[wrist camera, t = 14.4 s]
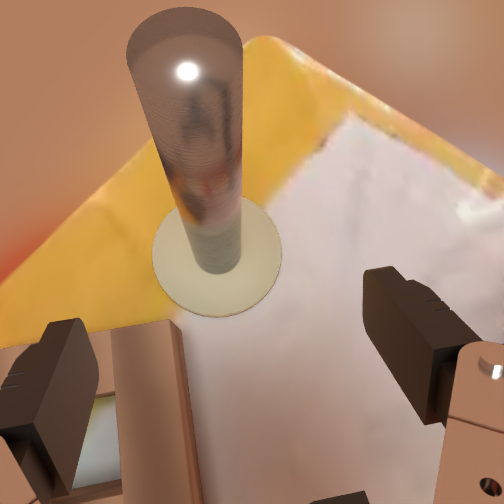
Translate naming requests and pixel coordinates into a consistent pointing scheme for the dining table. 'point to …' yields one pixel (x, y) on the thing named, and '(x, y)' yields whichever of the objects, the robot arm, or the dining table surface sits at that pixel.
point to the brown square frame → (142, 416)
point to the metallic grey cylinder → (196, 122)
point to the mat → (223, 285)
